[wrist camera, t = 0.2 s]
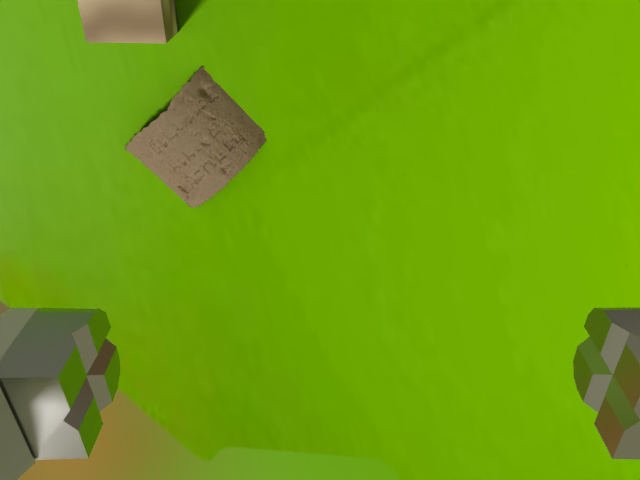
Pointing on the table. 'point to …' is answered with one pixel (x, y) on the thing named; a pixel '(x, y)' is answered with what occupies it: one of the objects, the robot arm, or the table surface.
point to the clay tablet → (198, 140)
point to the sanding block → (129, 20)
